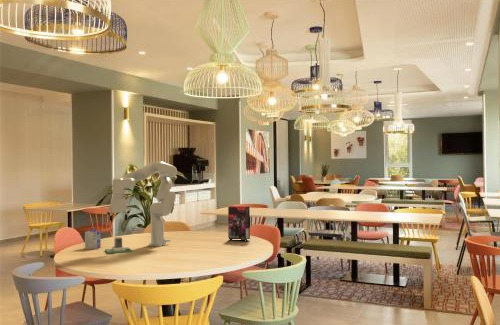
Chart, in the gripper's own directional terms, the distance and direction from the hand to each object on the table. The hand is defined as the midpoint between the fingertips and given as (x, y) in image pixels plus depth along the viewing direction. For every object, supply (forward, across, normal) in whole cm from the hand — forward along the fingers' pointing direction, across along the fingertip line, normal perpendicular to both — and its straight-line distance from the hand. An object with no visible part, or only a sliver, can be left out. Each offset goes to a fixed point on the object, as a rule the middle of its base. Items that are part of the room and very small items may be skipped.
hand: (118, 220), depth 310 cm
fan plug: (+20, 0, +2) cm, 20 cm away
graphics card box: (+22, -94, -5) cm, 96 cm away
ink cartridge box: (+21, +14, -22) cm, 34 cm away
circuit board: (+21, 0, 0) cm, 21 cm away
